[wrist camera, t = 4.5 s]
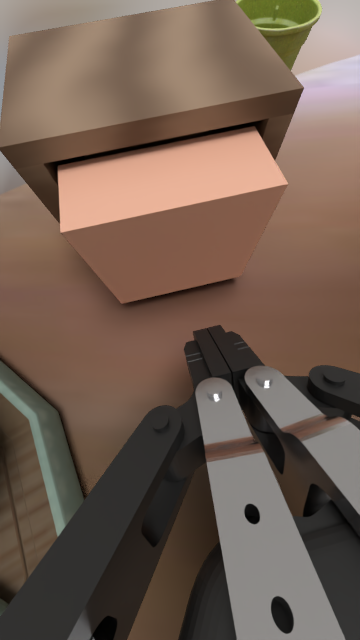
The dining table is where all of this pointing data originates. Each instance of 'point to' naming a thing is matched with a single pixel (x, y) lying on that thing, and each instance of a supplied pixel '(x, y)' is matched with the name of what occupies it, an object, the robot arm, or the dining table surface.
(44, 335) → the dining table surface
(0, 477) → the tea set
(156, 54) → the brown box with drawer
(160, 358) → the dining table surface
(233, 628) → the robot arm
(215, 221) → the salmon pink block
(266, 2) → the plant pot
